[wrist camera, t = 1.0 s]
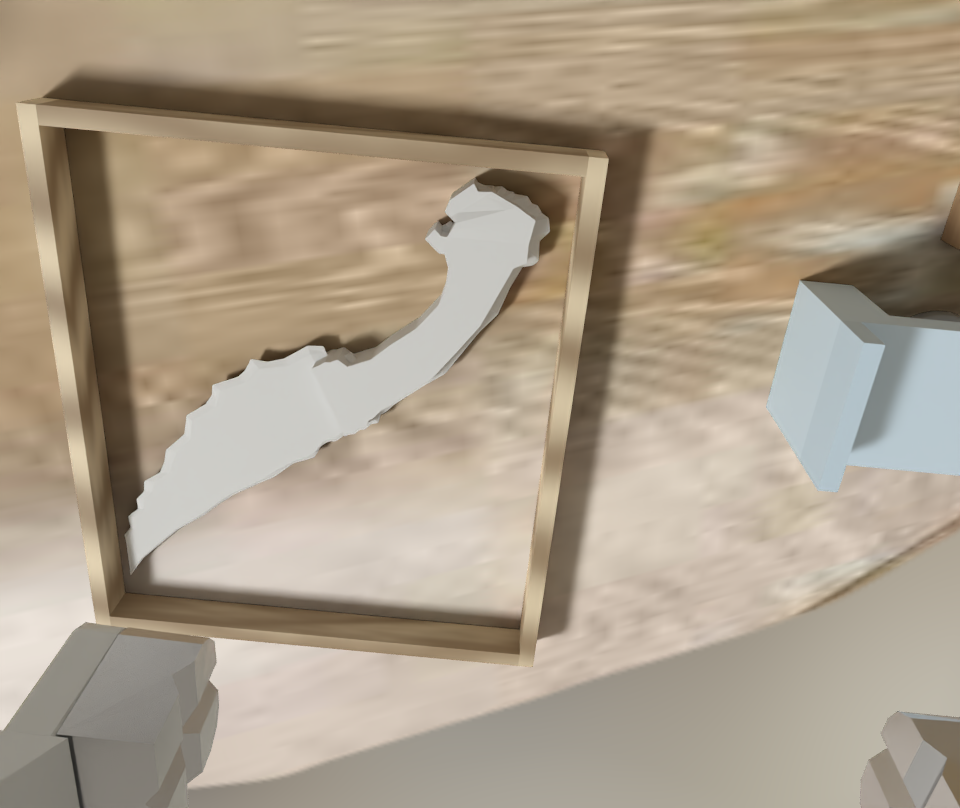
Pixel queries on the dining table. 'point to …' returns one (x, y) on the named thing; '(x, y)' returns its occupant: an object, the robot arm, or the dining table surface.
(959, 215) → the brown l-shaped block
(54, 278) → the wooden frame
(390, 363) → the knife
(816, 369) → the shelf
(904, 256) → the dining table surface
